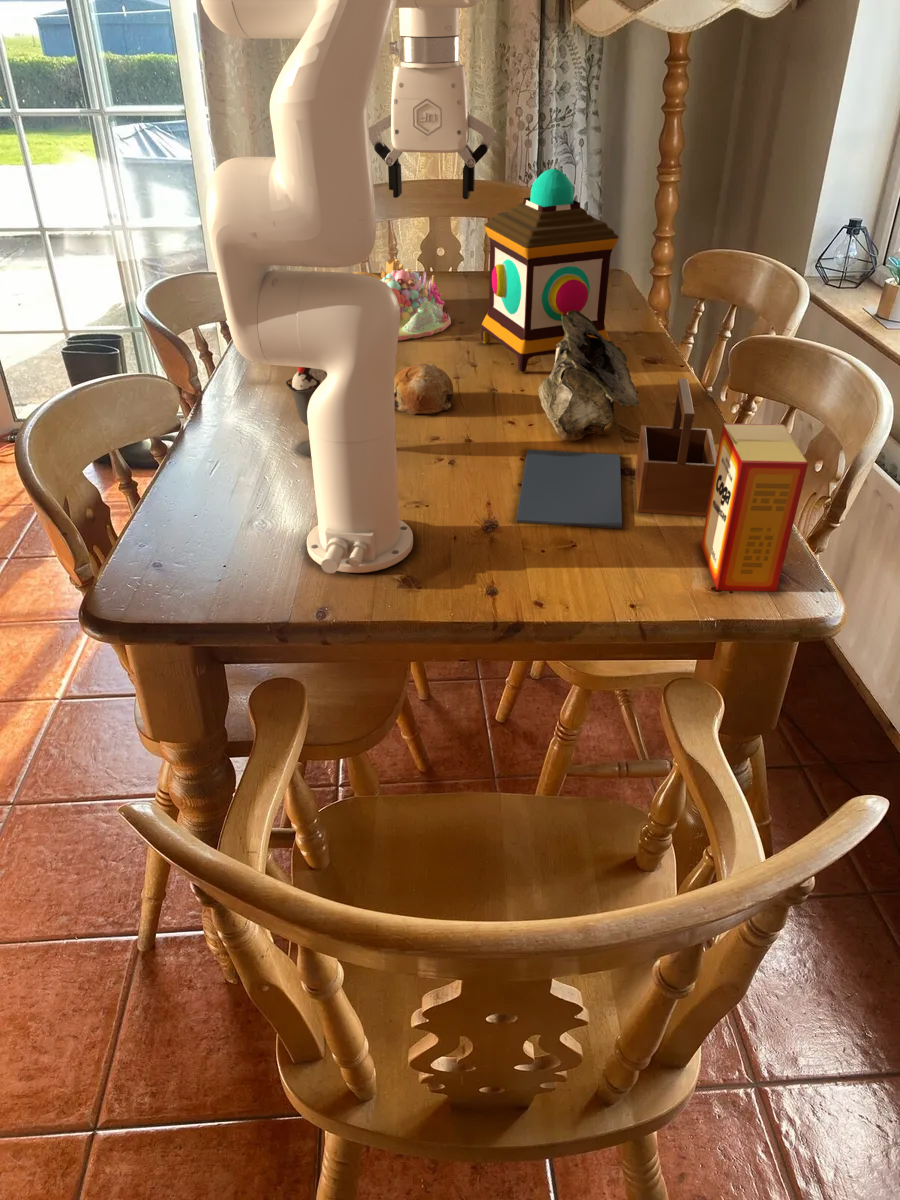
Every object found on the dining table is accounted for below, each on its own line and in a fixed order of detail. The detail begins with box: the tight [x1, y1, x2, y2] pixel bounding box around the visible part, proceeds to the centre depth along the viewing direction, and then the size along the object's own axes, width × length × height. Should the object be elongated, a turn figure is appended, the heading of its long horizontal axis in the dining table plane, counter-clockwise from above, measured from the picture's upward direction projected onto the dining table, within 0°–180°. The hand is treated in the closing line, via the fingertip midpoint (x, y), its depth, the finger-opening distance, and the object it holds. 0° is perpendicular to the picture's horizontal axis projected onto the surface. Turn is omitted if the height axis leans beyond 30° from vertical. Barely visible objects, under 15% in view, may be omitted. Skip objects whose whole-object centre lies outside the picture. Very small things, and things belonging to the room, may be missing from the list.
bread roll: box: [394, 363, 454, 416], centre depth 142 cm, size 10×10×8 cm
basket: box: [634, 378, 718, 517], centre depth 115 cm, size 11×9×14 cm
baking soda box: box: [700, 423, 809, 592], centre depth 100 cm, size 10×6×16 cm
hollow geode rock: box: [537, 310, 640, 442], centre depth 138 cm, size 28×13×15 cm
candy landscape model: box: [352, 258, 452, 341], centre depth 175 cm, size 25×24×9 cm
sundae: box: [285, 367, 327, 457], centre depth 126 cm, size 7×7×15 cm
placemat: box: [515, 449, 623, 530], centre depth 120 cm, size 20×13×1 cm, turn 172°
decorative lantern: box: [480, 168, 620, 374], centre depth 154 cm, size 20×20×30 cm
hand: (431, 196), depth 126 cm, fingers open, 9 cm apart
